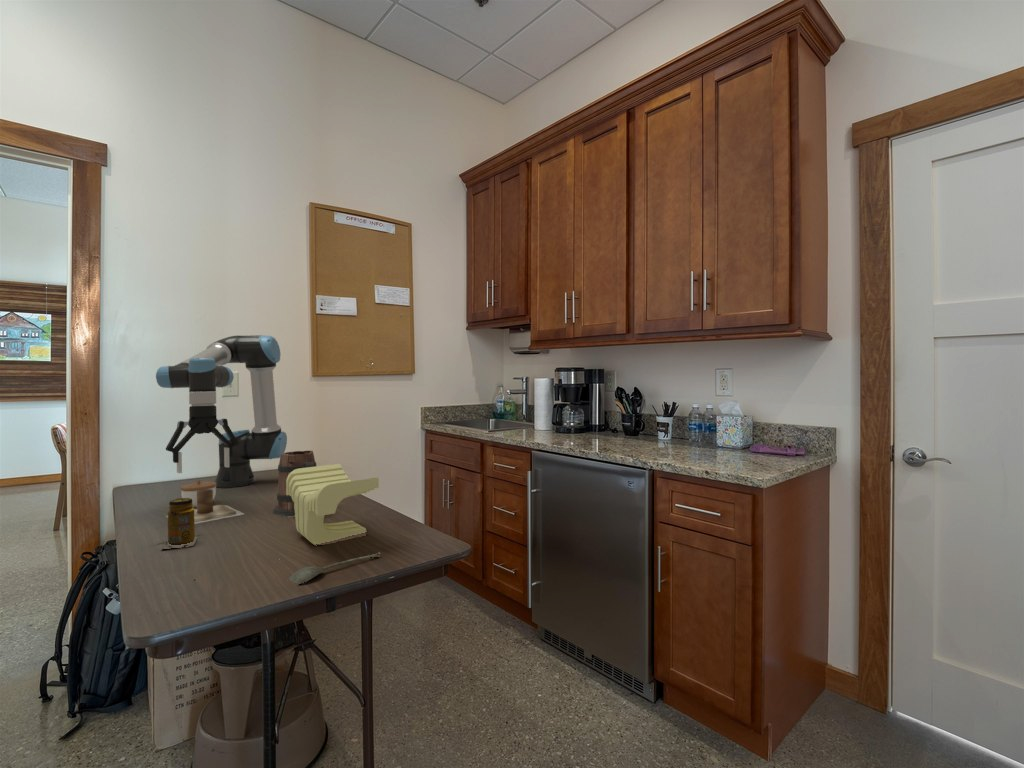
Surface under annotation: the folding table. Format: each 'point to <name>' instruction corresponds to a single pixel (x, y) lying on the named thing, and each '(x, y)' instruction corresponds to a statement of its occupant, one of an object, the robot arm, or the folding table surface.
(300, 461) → the tankard
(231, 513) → the lid
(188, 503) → the condiment
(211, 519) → the mat
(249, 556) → the folding table surface
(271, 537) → the folding table surface
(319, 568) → the soupspoon
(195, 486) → the lidded jar
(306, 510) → the slatted curved stool
